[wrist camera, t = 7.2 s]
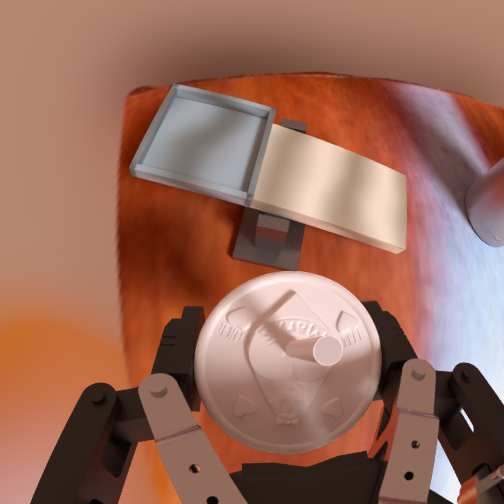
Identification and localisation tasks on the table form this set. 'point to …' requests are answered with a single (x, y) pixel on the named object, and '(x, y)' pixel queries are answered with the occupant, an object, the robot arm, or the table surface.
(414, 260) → the table surface
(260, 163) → the balance beam
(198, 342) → the smoothie
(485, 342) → the table surface
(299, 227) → the pivot stand
